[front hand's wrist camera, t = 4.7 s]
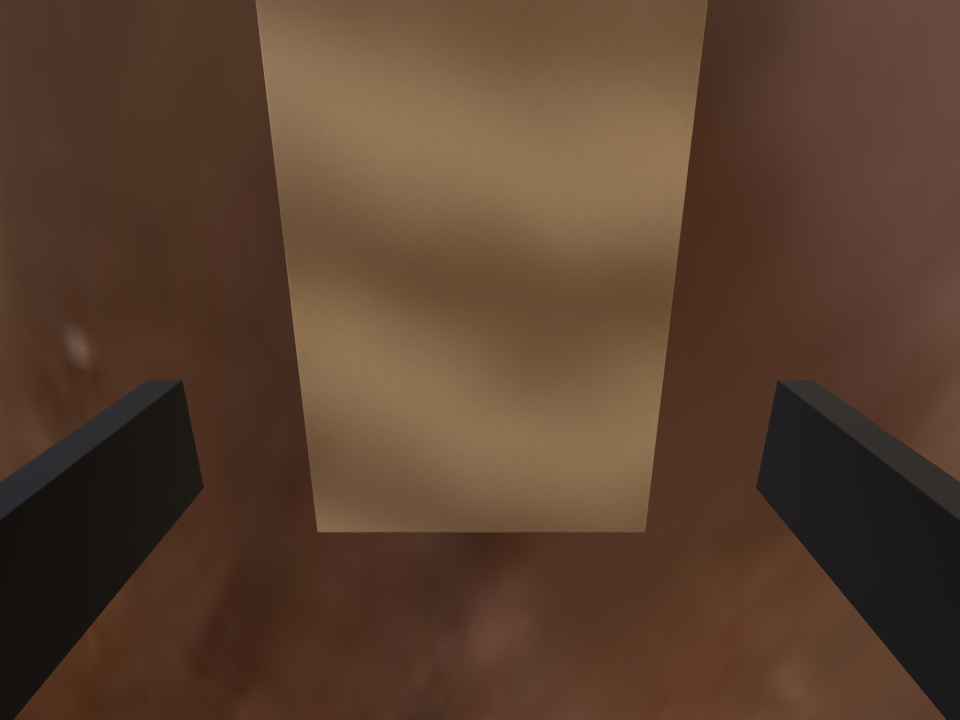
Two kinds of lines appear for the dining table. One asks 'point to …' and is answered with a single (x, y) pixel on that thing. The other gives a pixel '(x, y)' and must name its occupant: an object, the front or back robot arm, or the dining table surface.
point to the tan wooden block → (481, 252)
